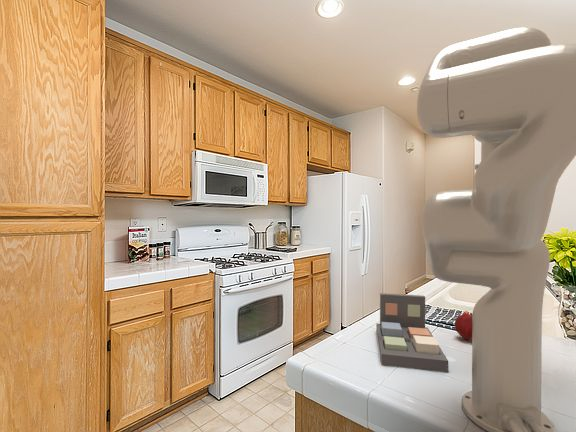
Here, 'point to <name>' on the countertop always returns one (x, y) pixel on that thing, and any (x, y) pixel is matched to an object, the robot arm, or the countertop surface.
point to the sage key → (395, 343)
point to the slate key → (391, 329)
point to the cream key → (425, 344)
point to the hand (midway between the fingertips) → (499, 246)
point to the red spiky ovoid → (464, 325)
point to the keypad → (408, 315)
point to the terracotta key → (418, 332)
